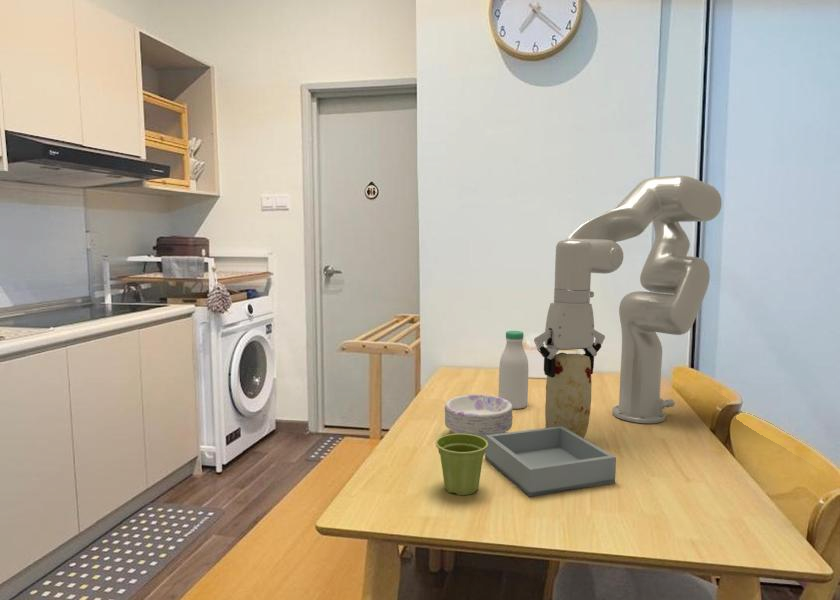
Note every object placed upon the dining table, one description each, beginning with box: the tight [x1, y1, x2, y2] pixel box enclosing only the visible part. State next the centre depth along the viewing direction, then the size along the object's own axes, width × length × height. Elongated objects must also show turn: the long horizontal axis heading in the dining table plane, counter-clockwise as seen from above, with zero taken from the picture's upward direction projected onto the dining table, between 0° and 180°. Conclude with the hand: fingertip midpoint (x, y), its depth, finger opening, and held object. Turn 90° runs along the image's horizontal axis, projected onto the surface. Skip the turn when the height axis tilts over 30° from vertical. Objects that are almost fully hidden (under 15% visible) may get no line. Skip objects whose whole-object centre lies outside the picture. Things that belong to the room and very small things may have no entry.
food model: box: [544, 352, 592, 439], centre depth 128 cm, size 10×7×20 cm
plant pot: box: [435, 433, 488, 496], centre depth 104 cm, size 9×9×9 cm
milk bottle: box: [498, 330, 529, 410], centre depth 153 cm, size 8×8×20 cm
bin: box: [484, 426, 617, 498], centre depth 112 cm, size 18×18×5 cm
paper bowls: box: [444, 394, 514, 439], centre depth 130 cm, size 15×15×8 cm
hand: (568, 374), depth 127 cm, fingers open, 9 cm apart
